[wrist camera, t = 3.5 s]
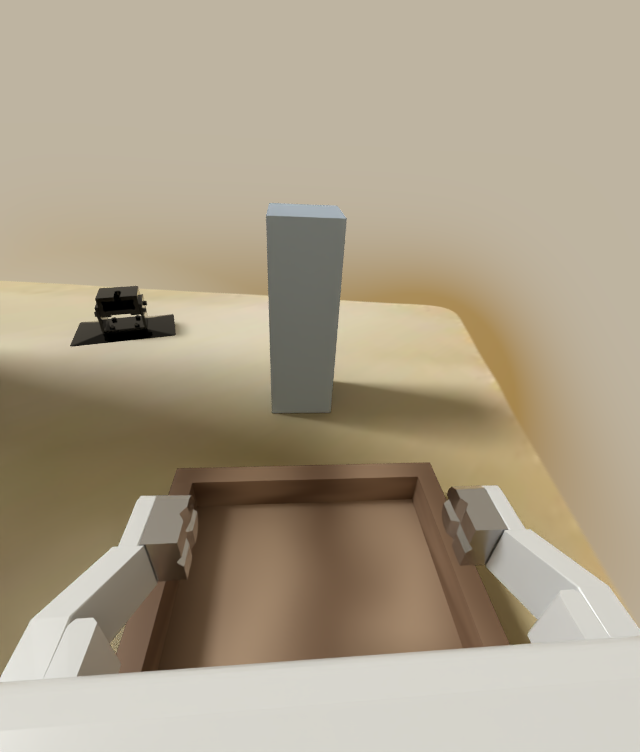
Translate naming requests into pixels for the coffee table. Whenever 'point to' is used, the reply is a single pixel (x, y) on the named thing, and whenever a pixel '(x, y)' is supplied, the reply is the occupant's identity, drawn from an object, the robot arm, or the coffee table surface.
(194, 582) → the tray
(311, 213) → the block
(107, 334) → the black bracket mount
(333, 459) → the coffee table surface
